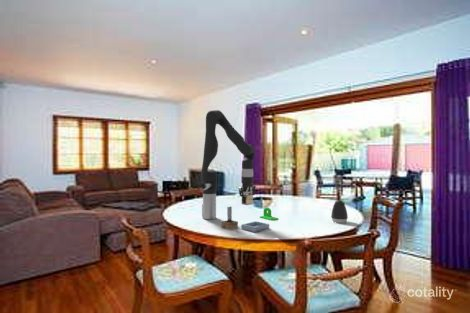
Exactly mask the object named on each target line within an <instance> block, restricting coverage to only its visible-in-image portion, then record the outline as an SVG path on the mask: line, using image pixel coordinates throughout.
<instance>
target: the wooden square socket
mask: <svg viewBox="0 0 470 313" xmlns="http://www.w3.org/2000/svg"><path fill="white" fill-rule="evenodd" d="M221 228H222V229H226V230H229V231H230V230H234V229H238V228H239V222H238V221H236V220H233V219H232V222H230V223H229V222H228V221H227V220H223V221H221Z"/></svg>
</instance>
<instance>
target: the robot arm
mask: <svg viewBox="0 0 470 313" xmlns="http://www.w3.org/2000/svg"><path fill="white" fill-rule="evenodd" d="M217 125H219V126H220V127H221V128H222V129H223V130H224V132H225V134H226V137H227V138H228V139H229V141H230V142H231V143H233V145H234V146H235V147H236V148H237V150H238V151H239V152H240V153H241V154H242V155H243V159H242V160H241V177H240V179H241V186H238V194H239V197H241V204H242V203H246V194H251V195H253V196H255V193H256V185H253V184H254V158H255V153H256V152H255V147H254V146H253V145H252V144H248V143H247V142H246V140H245V138H244V137H243V135H241V134H240V133H239V131H237V129H235V128H234V126H232V124H231V122H230V121H229V120H228V119H227V117H226V115H225V114H224V113H223V112H222V111H221V110H219V109H216V110H215V109H214V110H213V109H212V110H209V111H207V113H206V115H205V134H204V135H205V136H204V137H205V138H204V146H203V158H202V166H201V172H200V183H201V184H203V185H208V184H209V185H208V186H207V187H206V188H203V190H202V203H201V218H202V219H205V220H214V219H217V185H218V184H217V182H218V173H217V171H216V170H213V169H212V170H210V169H209V167H210V164H211V163H212V161H214V159H215V157H216V156H217V155H218V152H219V150H218V149H219V141H218V138H217V136H216V135H217V134H216V127H217Z"/></svg>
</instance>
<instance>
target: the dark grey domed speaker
mask: <svg viewBox="0 0 470 313" xmlns="http://www.w3.org/2000/svg"><path fill="white" fill-rule="evenodd" d="M345 204H346V203H345V202H344V201H343V200H340V199H337V200H336V201H335V202H334V204H333V206H332V209H331V216H330V217H331V220H332V221H333V223H335V222H336V224H345V223H346V222H347V220H348V219H349V217H348V216H349V214H348V211H347V207H346V205H345Z"/></svg>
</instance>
